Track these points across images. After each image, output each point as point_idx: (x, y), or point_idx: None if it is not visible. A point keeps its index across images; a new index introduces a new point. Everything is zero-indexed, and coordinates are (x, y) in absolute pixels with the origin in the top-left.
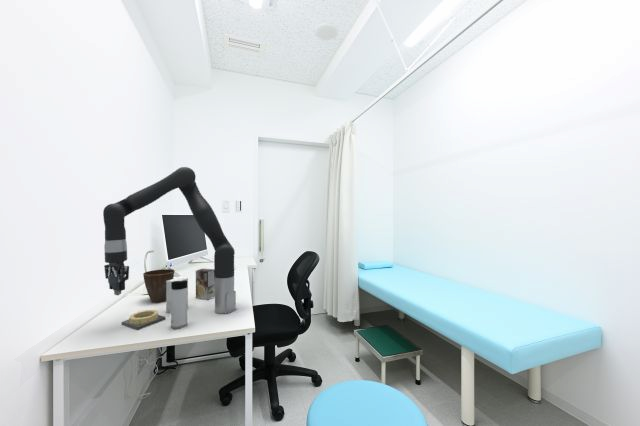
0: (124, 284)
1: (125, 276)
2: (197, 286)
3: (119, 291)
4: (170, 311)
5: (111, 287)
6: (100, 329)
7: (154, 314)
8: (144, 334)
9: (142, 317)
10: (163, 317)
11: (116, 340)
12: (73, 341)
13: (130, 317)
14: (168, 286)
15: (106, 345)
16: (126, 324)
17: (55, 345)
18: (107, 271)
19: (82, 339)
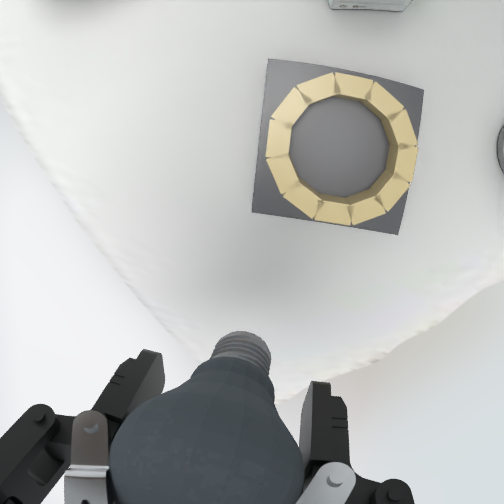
0: (346, 437)
1: (269, 479)
2: None
3: (265, 370)
4: (364, 8)
5: (158, 389)
6: (215, 271)
7: (407, 135)
8: (449, 252)
9: (305, 129)
10: (421, 101)
11: (384, 317)
12: None
13: (309, 210)
14: None
15: (381, 346)
16: (300, 217)
17: None
18: (35, 497)
19: None
